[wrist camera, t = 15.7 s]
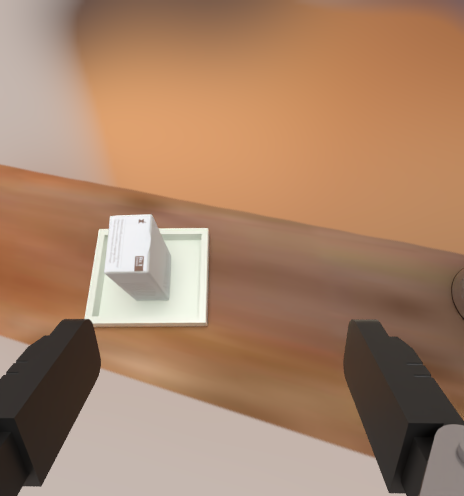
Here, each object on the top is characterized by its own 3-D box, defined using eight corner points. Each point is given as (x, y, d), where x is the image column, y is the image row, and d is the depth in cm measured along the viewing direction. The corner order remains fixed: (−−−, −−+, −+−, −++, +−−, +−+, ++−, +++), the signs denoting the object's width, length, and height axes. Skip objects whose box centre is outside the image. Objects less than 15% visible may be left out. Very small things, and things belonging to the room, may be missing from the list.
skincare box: (139, 257, 43) (105, 212, 32) (174, 256, 43) (152, 210, 32) (135, 303, 41) (98, 273, 29) (172, 302, 41) (148, 271, 29)
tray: (209, 236, 45) (208, 228, 42) (207, 326, 40) (205, 322, 38) (106, 237, 45) (99, 229, 42) (92, 327, 40) (83, 323, 38)
